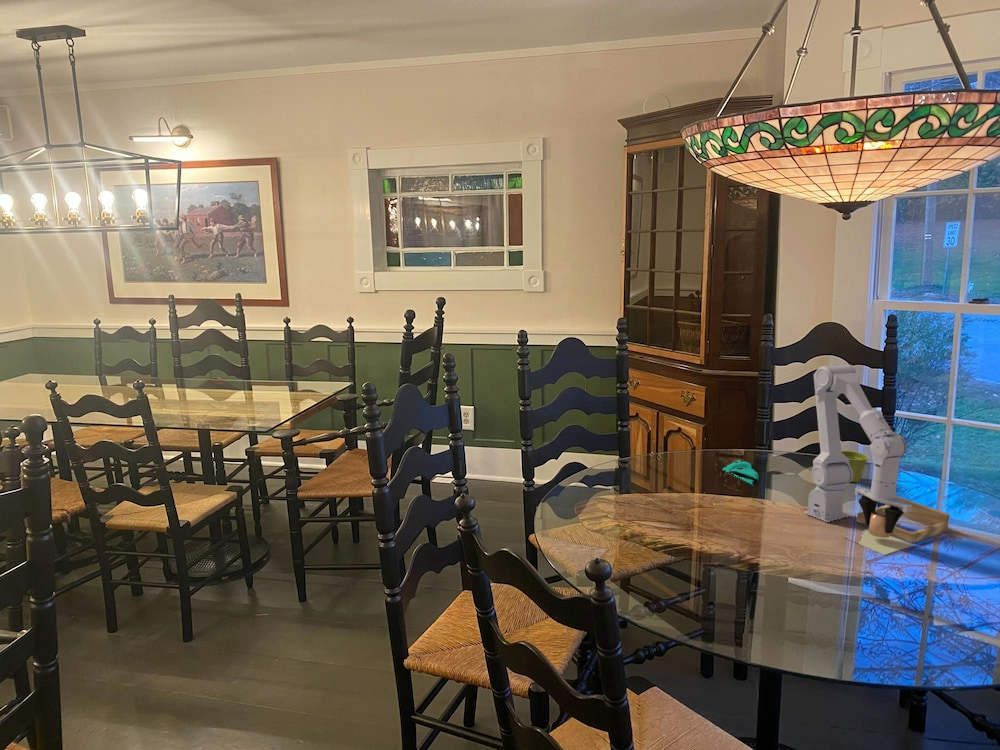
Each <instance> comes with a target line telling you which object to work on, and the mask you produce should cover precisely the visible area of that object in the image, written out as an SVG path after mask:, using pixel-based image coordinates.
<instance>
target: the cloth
mask: <svg viewBox="0 0 1000 750" xmlns="http://www.w3.org/2000/svg"><path fill="white" fill-rule="evenodd" d="M741 460H742V459H738V460H736V461H734V462H732V463H730V464H727V465H726V466H725V467H723V468H722V471H724V470H725V471H726V472H725V471H724V472H725V473H727V472H735V473H736V474H738V473H740V475H741V476H744V477H745V476H746V478H744V477H739V476H738V475H736V474H734V476H733V477H735V476H736V477H735V478H737V477H738V478H737V479H739V478H740V480H741V479H742V481H744V482H745V481H746V482H745V483H748V484H750V485H752V486H754V484H753V483H754V480H757V482H759V477H760V476H759V473H758V472H756V470H755V469H753V468H752V464H751V463H750V462H748V461H742V462H741ZM735 462H738V463H735ZM734 467H735V468H734ZM732 468H734V469H732ZM737 468H743V469H741V470H740V469H737ZM730 469H731V470H730ZM731 474H733V473H731ZM731 474H730V475H731ZM747 478H748V479H747Z"/></svg>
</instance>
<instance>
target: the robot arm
mask: <svg viewBox="0 0 1000 750" xmlns="http://www.w3.org/2000/svg"><path fill="white" fill-rule="evenodd" d="M860 377H861V376H860V374H859V373H858V371H857V369H856V368H855V366H854V365H852V364H845V365H828V366H827V365H822V366H819V367H818V369H816V370H815V373H813V382H814V383H813V384H814V395H815V406H816V415H817V417H816V418H817V426H818V427H817V428H818V437H819V438H818V439H819V447H820V453H819V454H818V455H817V456H816V457H815V458H813V460H812V465H813V466H812V470H811V477H812V480H813V482H814V483H815V485H816V487H815V488H813V489H812V490H811V491H810V492H809V493H808V499H807V500H808V501H807V509H806V510H805V511H804V514H805V515H808V516H811V517H812V516H813V518H815V517H816V518H815V519H817V518H818V520H820V519H821V520H820V521H822V520H824V521H823V522H825V521H826V522H825V523H827V522H829V523H831V522H830V521H832V522H834V521H833V520H836V521H838V520H837V519H839V520H841V519H840V518H842V519H845V518H844V517H846V518H848V516H849V517H850V515H849V514H847V513H844V512H843V511H844V499H845V491H846V490H845V489H846V488H847V487H848V484H850V482H851V481H852V478H853V471H852V469H851V466H850V463H849V458H847V457H846V456H845V455H844V454H842V453H841V451H842V445H841V444H842V443H841V435H840V424H839V414H838V413H839V411H838V402H837V399H838V397H839V396H840V395H841V394H843V395H844V396H845V397H846V398H847V400H848V401H849V403H850V404H851V405H852V407H853V408H854V409H855V411H857V413H858V415H859V419H858V423H859V424H860V426H861V428H862V429H863V431H864V433H865V435H866V436H867V438H868V439H869V441H870V442H871V444H869V449H870V450H869V451H870V452H871V456H872V458H871V459H872V463H873V467H872V477H871V487H870V489H868V488H865V487H861V486H857V487H855V489H854V496H857V497H859V496H860V497H861V498H859V499H858V504H859V506H860V507H861V510H862V512H863V513H864V518H865V523H866V525H865V526H867V527H869V524H870V517H871V512H872V511H875V509H876V508H877V506H878V503H879V504H882V505H883V504H884V506H885V505H888V506H890V508H886V509H885V515H886V526H885V533H887V534H889V533H892V532H893V529H894V527H895V526H897V523H898V521H899V519H900V518H901V517H902V516H901V515H902V514H903V513H904V512H905V513H908V512H911V508H912V505H911V504H909V503H906V502H904V501H903V500H901V499H899V498H897V497H895V496H896V495H897V494H896V492H897V484H898V475H899V466H900V458H901V457H903V456H904V455H905V454H906V452H907V449H908V448H907V443H906V441H905V438H904V437H903V436H902V435H900V434H899V433H896V432H895V431H893V430H892V429H891V427H890V426H889V424H888V422H887V421H886V419H885V417H884V415H883V413H881V411H878V410H874V409H873V407H872V405H871V404H870V401H869V400H868V398H867V396H866V394H865V392H864V390H863V389H862V387H861V385H860Z"/></svg>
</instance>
